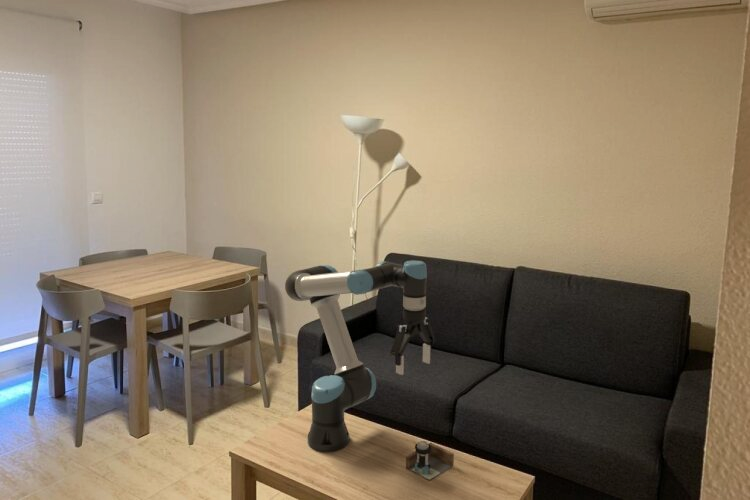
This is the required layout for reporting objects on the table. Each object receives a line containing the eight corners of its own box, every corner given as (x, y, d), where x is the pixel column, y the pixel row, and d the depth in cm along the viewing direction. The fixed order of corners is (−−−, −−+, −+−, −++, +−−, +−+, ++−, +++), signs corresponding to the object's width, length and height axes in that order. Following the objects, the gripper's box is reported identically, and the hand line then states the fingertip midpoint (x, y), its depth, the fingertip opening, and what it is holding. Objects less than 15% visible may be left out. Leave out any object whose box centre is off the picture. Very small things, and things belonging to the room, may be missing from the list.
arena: (406, 468, 200) (406, 456, 199) (430, 454, 209) (430, 442, 208) (429, 480, 193) (429, 468, 192) (453, 465, 202) (453, 453, 201)
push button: (436, 470, 198) (437, 443, 196) (430, 478, 193) (430, 450, 191) (418, 465, 201) (418, 438, 199) (411, 473, 197) (412, 445, 195)
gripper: (397, 318, 186) (396, 382, 190) (446, 302, 203) (445, 361, 207) (380, 313, 191) (379, 375, 195) (429, 298, 208) (428, 355, 212)
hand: (413, 368), depth 201 cm, fingers open, 13 cm apart
